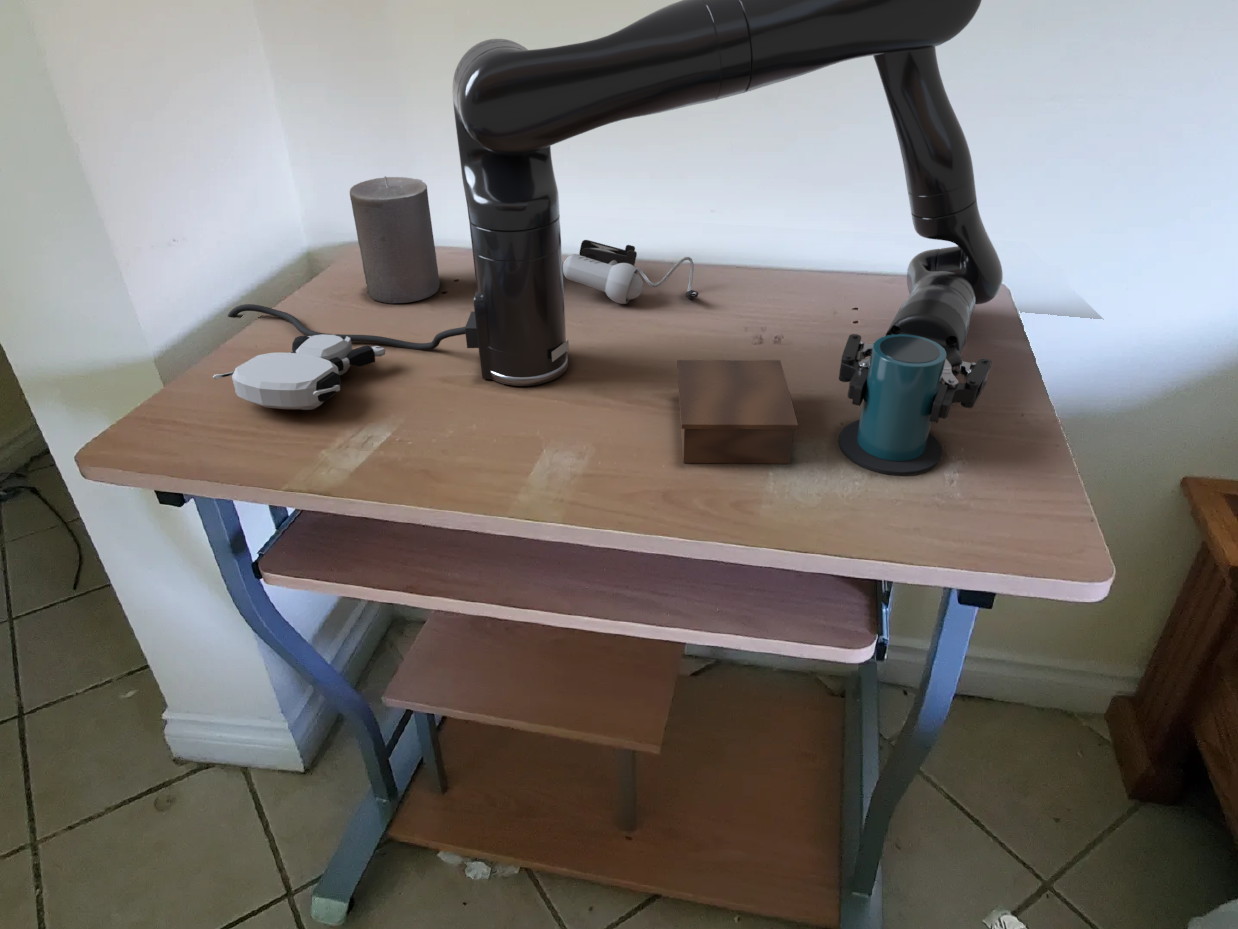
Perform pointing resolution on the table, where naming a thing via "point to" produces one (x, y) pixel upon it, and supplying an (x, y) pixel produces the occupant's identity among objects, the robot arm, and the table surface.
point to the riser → (735, 411)
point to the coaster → (885, 466)
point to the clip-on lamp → (613, 271)
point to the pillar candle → (395, 239)
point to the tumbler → (900, 396)
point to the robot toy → (300, 372)
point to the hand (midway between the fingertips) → (895, 404)
